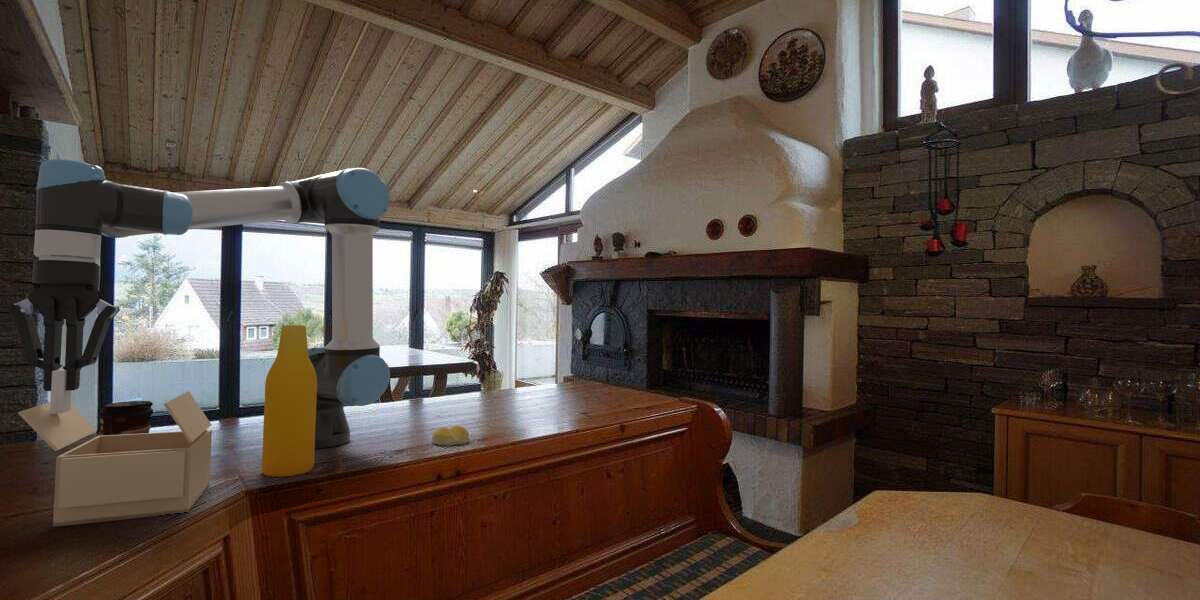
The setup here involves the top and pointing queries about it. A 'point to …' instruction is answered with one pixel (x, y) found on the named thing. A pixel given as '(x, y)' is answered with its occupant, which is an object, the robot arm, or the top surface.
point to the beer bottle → (290, 408)
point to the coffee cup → (126, 418)
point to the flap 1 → (57, 425)
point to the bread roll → (451, 436)
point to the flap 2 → (188, 415)
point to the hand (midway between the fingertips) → (60, 411)
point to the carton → (130, 477)
